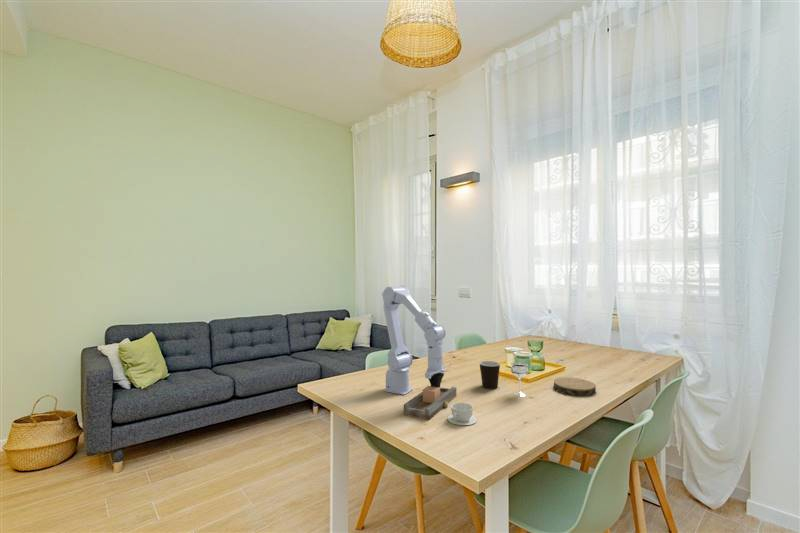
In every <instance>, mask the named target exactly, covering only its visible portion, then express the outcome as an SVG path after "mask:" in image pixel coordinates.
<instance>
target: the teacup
mask: <svg viewBox="0 0 800 533" xmlns="http://www.w3.org/2000/svg"><path fill="white" fill-rule="evenodd" d="M450 410H451V414H449V415H448V416H447V418H446V419H447V421H448V422H449V423H451V424H454V425H457V426H470V425H473V424H474V425H475V423H477V421H478V418H477V417H476V416H475V415H473V411H474V406H473V405H472V404H470V403H468V402H467V403H466V402H455V403H452V404H451V405H450Z"/></svg>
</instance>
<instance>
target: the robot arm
mask: <svg viewBox="0 0 800 533" xmlns="http://www.w3.org/2000/svg"><path fill="white" fill-rule="evenodd" d="M381 296H382V299H383V312H384V317H385V322H386V327H387V332H388V337H389V338H388V339H389V342H390V350H389V351H388V352H387V365H388V369H387V370H386V373H385V390H384V392H387V393H391V394H397V395H403V396H405V395H406V394H408V393H409V392H411V391H413V390H414V388H413V387H410V373H409V372H410V371H409V370H410V369H411V366H412V364H413V355H412V354H411V353H410V349H409V348H408V347H407V346H405V343H404V340H403V338H404V337H403V333H402V328H401V323H400V318H399V313H398V308H399V306H400V305H401V304H402V305H403V306H404V307H405V308H406V309H407V310H409V312H410V313H411V314H412V315H413V316H414V322H415V323H416V324H417V325H418V327H419V328H420V329H421V330H422V331H423V335H424V339H425V340H426V345H427V368H426V372H425V373H424V377H425V379H428V381H429V383H430V386H432V387H438V388H440V387H441V383H442V380H443V377H444V376H445V372H446V364H444V363H443V360H444V358H443V354H444V353H443V352H444V351H443V349H444V348H443V344H444V343H443V340H444V339H445V338H446V330H445V328H444V326H443V325H441V324H438V323H437V322H436V321H435V320H434V319H433V318H432V317H431V316H430V313H429V312H427V311H423V310H422V309H421V308H420V307H419V306H418V305H419V304H417V303H416V301H415V300H414V298H413V297H412V296H411V291H410V290H409V289H408V288H407V287H406V286H404V285H400V286H399V285H398V286H387V287H385V288H384V290H383V292H382V294H381Z"/></svg>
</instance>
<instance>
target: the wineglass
mask: <svg viewBox="0 0 800 533" xmlns="http://www.w3.org/2000/svg"><path fill="white" fill-rule="evenodd" d="M510 365H511V367H510V372H511V374H512V375H514V377H516V378H517V379H518V391H515V392H513V395H515V396H517V397H525V396H527V393H526V392H523V391H521V383H522V382H521V379H523V378H524V377H526V376H527V375H528V374H529V368H528V366H529V364H528V363H525V362H517V361H515V362H512V363H510Z"/></svg>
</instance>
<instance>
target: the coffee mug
mask: <svg viewBox="0 0 800 533" xmlns="http://www.w3.org/2000/svg"><path fill="white" fill-rule="evenodd" d="M479 368H480V370H479V371H480V377H481V385H482V388H484V389H487V390H496V389H497V388H498V387H499V378H500V368H501V364H500V362H497V361H492V360H483V361H480V362H479Z"/></svg>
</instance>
